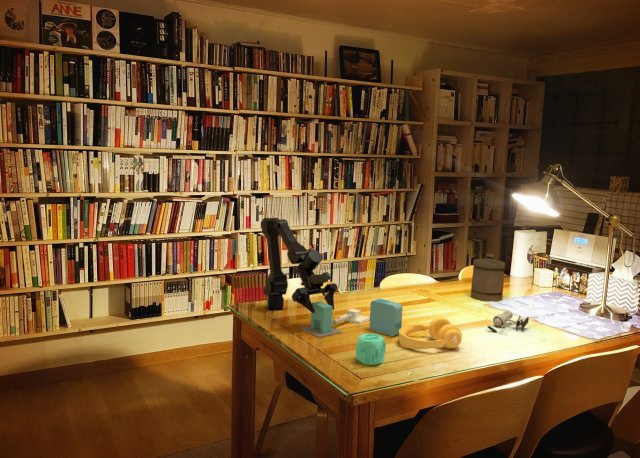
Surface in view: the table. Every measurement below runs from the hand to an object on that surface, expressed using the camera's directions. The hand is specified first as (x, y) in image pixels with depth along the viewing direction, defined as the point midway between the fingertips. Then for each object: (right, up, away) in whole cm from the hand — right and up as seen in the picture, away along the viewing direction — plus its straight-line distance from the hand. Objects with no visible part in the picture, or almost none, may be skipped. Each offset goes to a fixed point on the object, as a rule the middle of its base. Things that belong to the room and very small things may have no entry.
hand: (323, 311), depth 209 cm
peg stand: (+10, -7, +14) cm, 18 cm away
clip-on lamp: (+73, -9, +13) cm, 75 cm away
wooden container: (+80, -3, +62) cm, 101 cm away
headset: (+38, -11, -9) cm, 40 cm away
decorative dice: (+15, -13, -27) cm, 33 cm away
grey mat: (-1, -8, +2) cm, 8 cm away
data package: (+23, -9, +3) cm, 25 cm away
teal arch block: (-1, -8, +2) cm, 8 cm away
